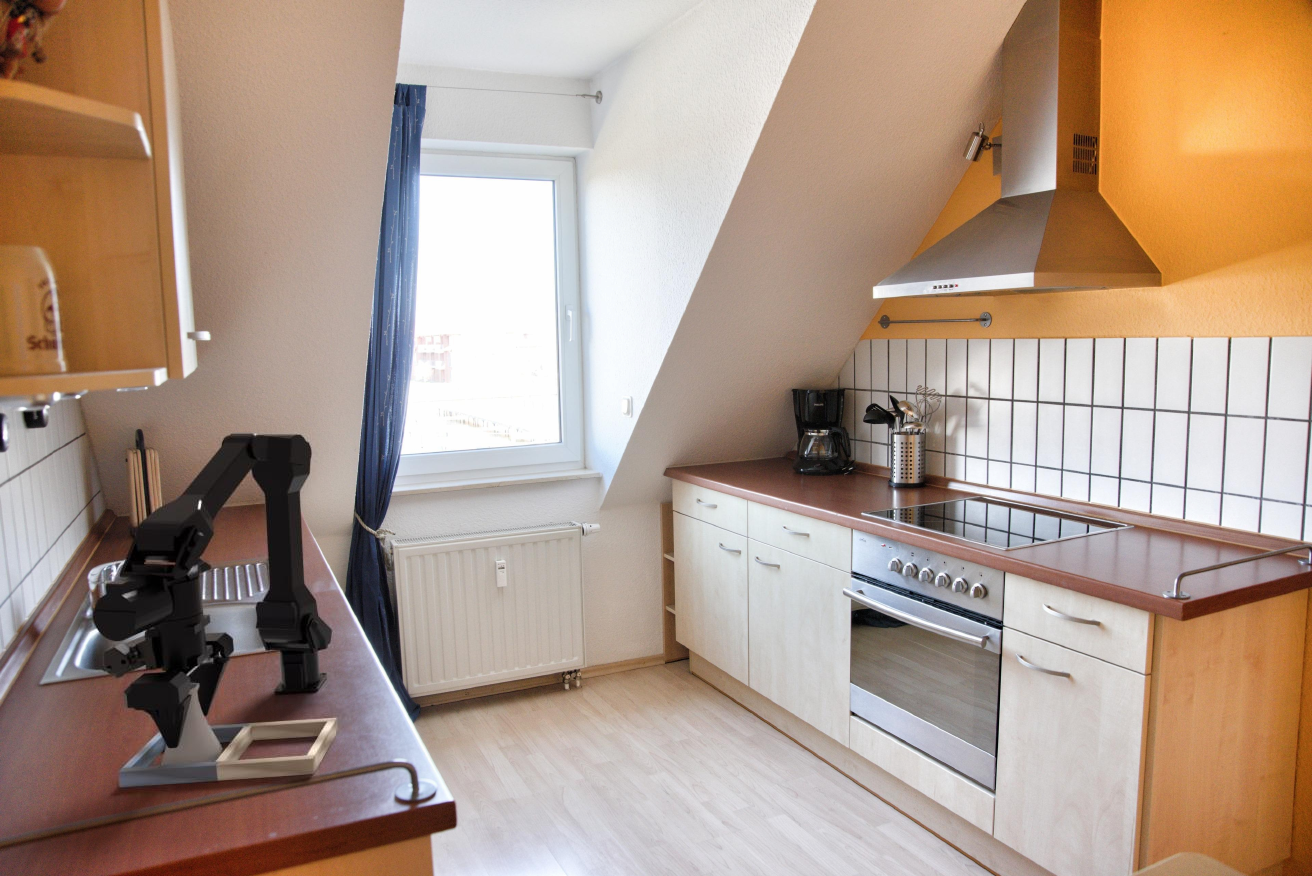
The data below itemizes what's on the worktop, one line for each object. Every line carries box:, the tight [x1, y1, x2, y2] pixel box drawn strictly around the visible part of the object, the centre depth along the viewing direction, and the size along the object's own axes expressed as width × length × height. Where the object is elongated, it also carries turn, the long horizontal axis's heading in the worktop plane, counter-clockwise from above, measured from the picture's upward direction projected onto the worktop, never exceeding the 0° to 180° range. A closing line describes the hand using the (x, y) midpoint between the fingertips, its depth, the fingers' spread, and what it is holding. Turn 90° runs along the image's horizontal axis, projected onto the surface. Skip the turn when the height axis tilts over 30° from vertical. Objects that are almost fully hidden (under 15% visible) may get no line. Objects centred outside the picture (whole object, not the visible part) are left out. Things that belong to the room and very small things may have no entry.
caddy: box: [117, 717, 339, 788], centre depth 116 cm, size 12×23×2 cm, turn 96°
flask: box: [160, 682, 223, 765], centre depth 115 cm, size 7×7×10 cm
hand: (188, 731), depth 115 cm, fingers open, 9 cm apart
